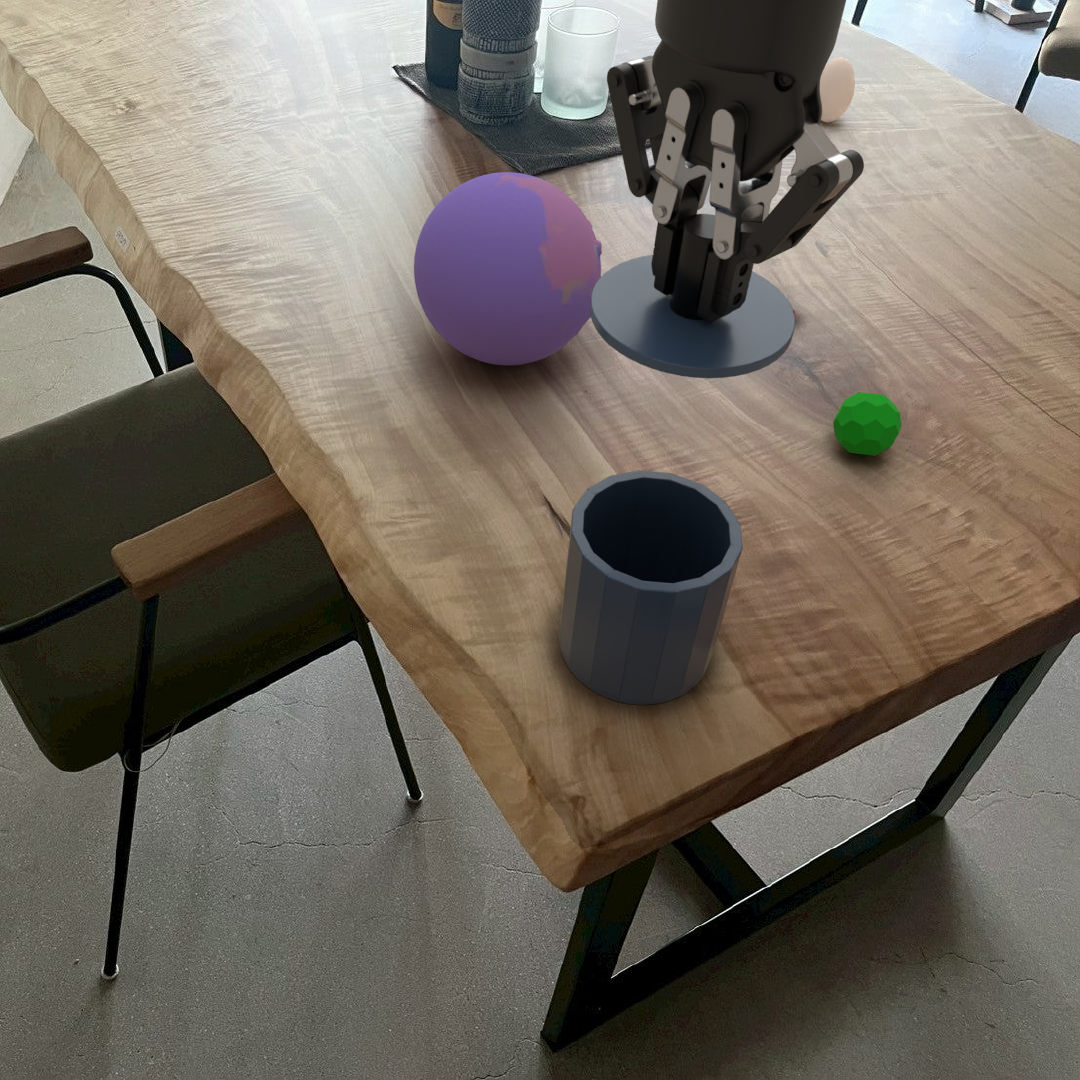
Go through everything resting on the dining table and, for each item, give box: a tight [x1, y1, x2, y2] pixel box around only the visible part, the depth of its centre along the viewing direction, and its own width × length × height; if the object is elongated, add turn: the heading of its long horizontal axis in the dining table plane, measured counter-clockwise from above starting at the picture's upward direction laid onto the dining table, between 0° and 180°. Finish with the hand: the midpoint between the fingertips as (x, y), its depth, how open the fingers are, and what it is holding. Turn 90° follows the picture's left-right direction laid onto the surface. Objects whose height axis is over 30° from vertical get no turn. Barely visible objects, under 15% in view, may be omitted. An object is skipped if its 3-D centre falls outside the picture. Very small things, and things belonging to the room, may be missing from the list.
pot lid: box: [590, 213, 796, 379], centre depth 52 cm, size 10×10×6 cm
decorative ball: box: [413, 171, 603, 366], centre depth 84 cm, size 15×15×15 cm
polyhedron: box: [832, 391, 903, 456], centre depth 81 cm, size 5×5×5 cm
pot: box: [558, 469, 744, 706], centre depth 64 cm, size 10×10×10 cm
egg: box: [820, 56, 856, 123], centre depth 123 cm, size 5×5×7 cm
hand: (693, 299), depth 53 cm, fingers closed on pot lid, 2 cm apart
